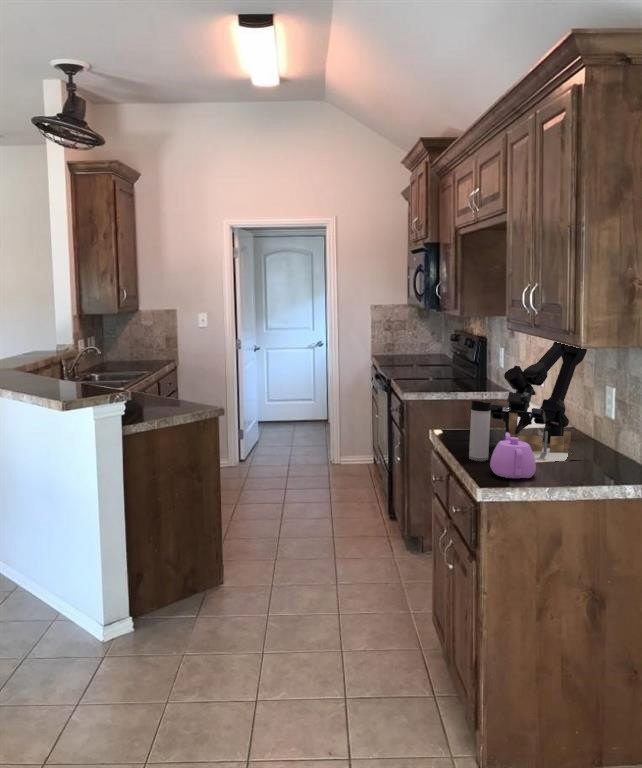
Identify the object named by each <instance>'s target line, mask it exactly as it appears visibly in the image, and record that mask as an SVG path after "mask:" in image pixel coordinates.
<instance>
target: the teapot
mask: <svg viewBox="0 0 642 768" xmlns="http://www.w3.org/2000/svg"><path fill="white" fill-rule="evenodd" d="M504 437H505V439H504V440H499V441H498V443H497V444H496V446H495V448H494V450H493V452H492V453H491V458H490V462H489V467H490V469H491V470H492V471H491V472H492V473H493V474H495V475H496V476H498V477H505V478H508V479H520V478H527V479H530V478H532V477H533V476H534V474H536V471H537V463H536V462H535V457H534V454H533V452H532V450H531V447H530V445H529V444H528V443H526V442H522V441H519V438H517V437H510V434H509V433H508V432H506V431H505V436H504Z"/></svg>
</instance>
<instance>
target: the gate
mask: <svg viewBox="0 0 642 768" xmlns="http://www.w3.org/2000/svg"><path fill="white" fill-rule="evenodd" d="M518 418H519V417H518V413H515V412H510V413H509V431H508V433H509V434H510V437H517V438H519V441H522V442H526V443H528V444H529V445H530V447H531V450H532V451H542V449H543V446H544V440H543V435H518V434H517V435H516V434H515V432H516V428H517V425H518V420H519V419H518Z"/></svg>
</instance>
